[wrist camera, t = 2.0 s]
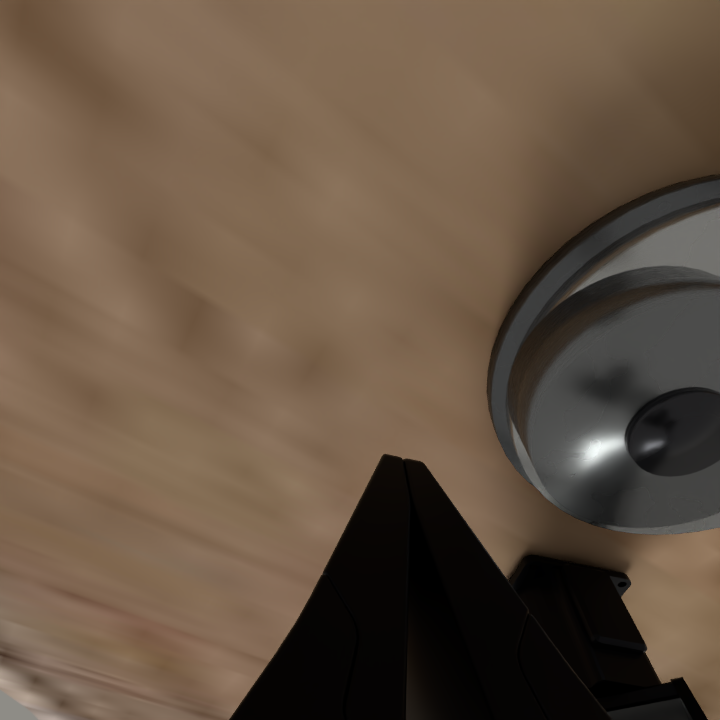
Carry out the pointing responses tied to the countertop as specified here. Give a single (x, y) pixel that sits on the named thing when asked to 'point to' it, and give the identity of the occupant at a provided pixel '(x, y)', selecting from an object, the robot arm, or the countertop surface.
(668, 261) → the platter
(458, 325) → the countertop surface
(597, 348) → the cover
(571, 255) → the turntable base
